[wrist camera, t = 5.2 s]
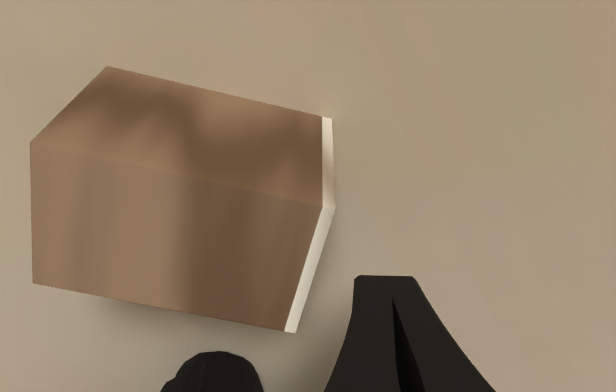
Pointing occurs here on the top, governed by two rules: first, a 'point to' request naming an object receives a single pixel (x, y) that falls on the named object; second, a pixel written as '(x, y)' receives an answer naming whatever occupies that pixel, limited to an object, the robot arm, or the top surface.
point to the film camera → (215, 374)
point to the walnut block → (182, 199)
